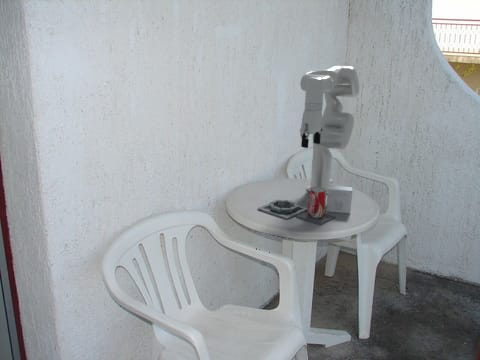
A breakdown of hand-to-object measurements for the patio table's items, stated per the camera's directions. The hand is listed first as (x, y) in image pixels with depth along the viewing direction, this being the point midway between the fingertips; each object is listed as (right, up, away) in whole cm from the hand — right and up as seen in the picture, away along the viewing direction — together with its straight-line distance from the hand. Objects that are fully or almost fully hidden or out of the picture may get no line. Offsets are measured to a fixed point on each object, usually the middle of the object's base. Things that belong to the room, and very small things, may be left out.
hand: (310, 145), depth 202 cm
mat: (+1, -31, -7) cm, 32 cm away
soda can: (+1, -31, -7) cm, 32 cm away
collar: (-12, -28, 0) cm, 31 cm away
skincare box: (+13, -29, +2) cm, 32 cm away
